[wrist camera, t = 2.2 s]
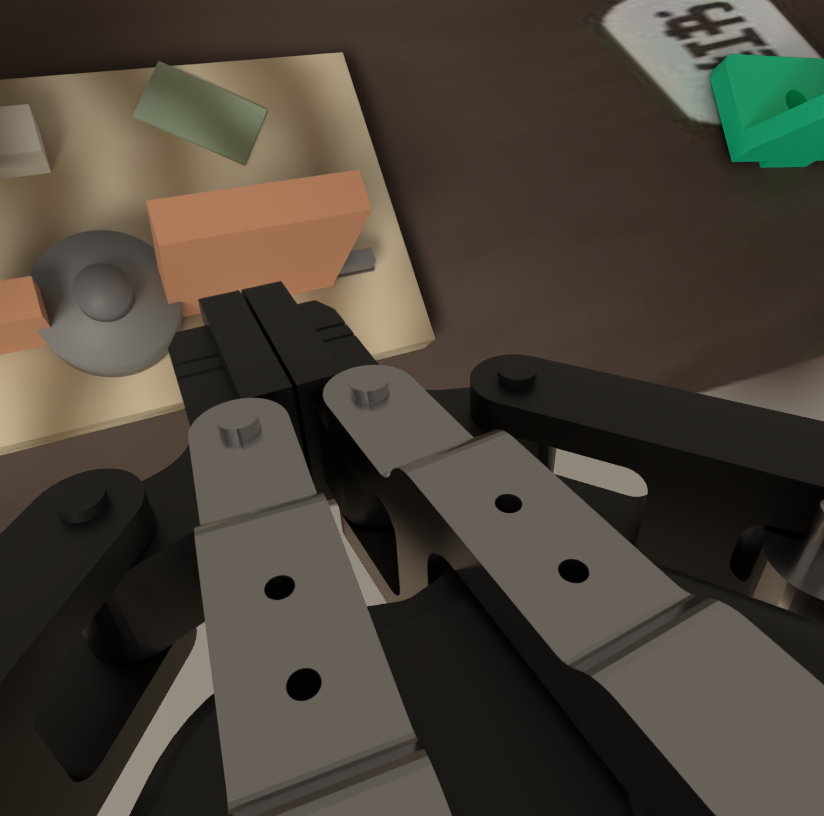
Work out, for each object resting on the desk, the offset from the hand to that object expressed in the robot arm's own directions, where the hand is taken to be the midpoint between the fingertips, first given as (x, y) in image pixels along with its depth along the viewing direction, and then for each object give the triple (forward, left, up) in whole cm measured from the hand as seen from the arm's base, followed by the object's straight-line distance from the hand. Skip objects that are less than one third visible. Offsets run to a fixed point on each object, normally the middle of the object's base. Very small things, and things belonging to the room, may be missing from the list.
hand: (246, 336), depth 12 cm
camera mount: (+23, +43, -24) cm, 55 cm away
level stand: (-8, +9, -24) cm, 27 cm away
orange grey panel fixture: (-5, +7, -21) cm, 23 cm away
